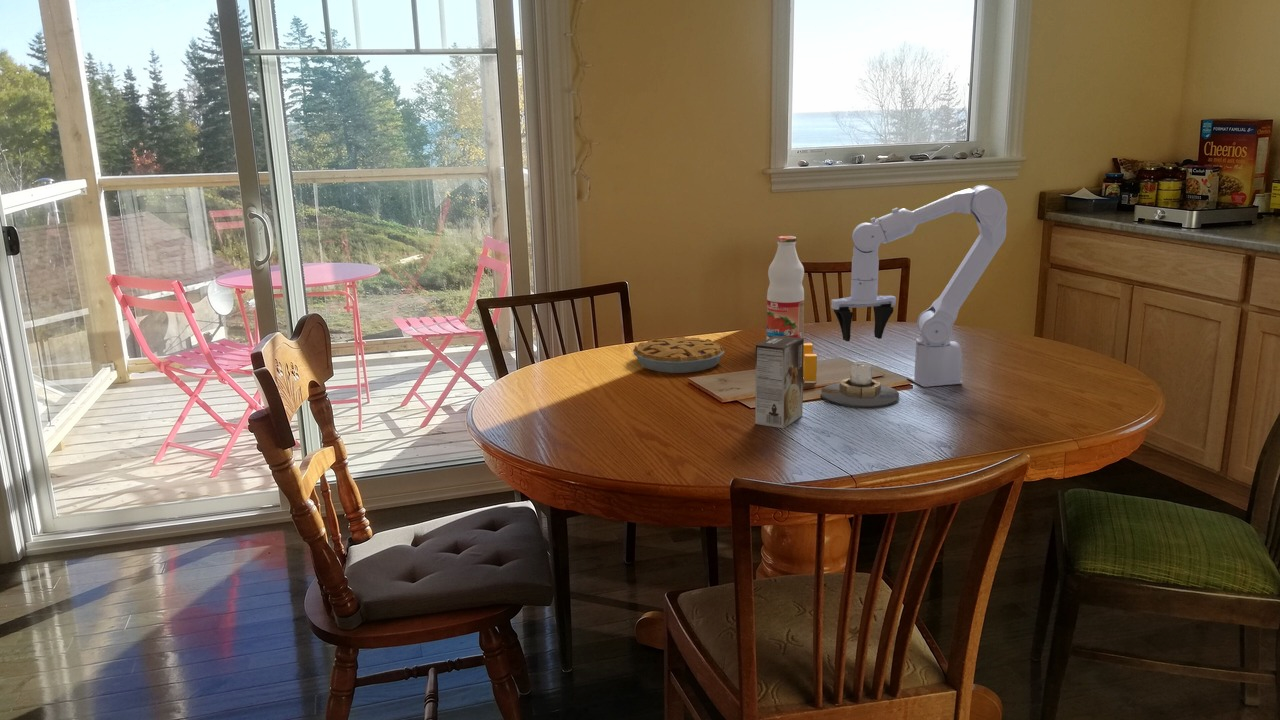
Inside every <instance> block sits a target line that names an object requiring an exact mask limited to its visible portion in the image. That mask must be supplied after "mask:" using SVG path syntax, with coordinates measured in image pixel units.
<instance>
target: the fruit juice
mask: <svg viewBox="0 0 1280 720" xmlns="http://www.w3.org/2000/svg"><path fill="white" fill-rule="evenodd" d="M797 239H798V238H797V237H796V236H793V235H781V236H777V237H776V243H777V250H776V252H775V255H774V258H773V260H772V262H771V263H770V265H769V267H768V271H767V276H768V280H769V284H768V285H769V286H768V288H767V293H766V340H767V339H769V338H771V337H773V336H785V337H794V338H804V322H805V320H804V318H805V317H804V316H805V313H804V312H805V289H804V285H803V280H804V276H805V268H804V267H805V266H804V265H803V263H802V262H801V261H800V258H799V256H798V253H797V249H796V244H797V242H798V241H797Z"/></svg>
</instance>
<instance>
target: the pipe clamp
mask: <svg viewBox="0 0 1280 720" xmlns="http://www.w3.org/2000/svg"><path fill="white" fill-rule="evenodd" d="M813 348H814V345H813V343H811V342H807V343H806V342H804V349H803V377H804V380H803V382H804V381H816V382H817V373H818V372H817V370H818V369H817V368H818V355H817V354H816V353H814V350H813Z"/></svg>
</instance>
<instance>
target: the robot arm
mask: <svg viewBox="0 0 1280 720" xmlns="http://www.w3.org/2000/svg"><path fill="white" fill-rule="evenodd" d="M1008 209H1009V208H1008V205H1007V201H1006V200H1005V197H1004V195H1003V193H1002V192H1001V191H999V190H998V189H996V188H993V187H991V186H989V185H987V184H979V185H975V186H973V187H972V188H969V187H968V188H966V189H962V190H959V191H956V192H953V193H950V194H948V195H946V196H943V197H941V198H939V199H937V200H935V201H932V202H930V203H928V204H925V205H923V206H921V207H918V208H916V209H914V210H909V209H908V208H900V209H899V207H895V208H892V209H891V212H890V213H888V214H884V215H883V216H880V217H878V218H876V217H875V216H874V217H872V218H870V222H862V223H859V224H858V225H857V226H856V227H854V229H853V231H852V234H851V238H852V239H851V240H852V242H853V249H852V255H853V256H852V257H851V274H850V275H851V277H850V278H851V280H850V281H851V283H850V296H848V297H842V298H836V299H835V298H833V299H831V302H830V303H831V304H830V306H831V307H830V308H831V309H832V310H833V312H834V314H835V316H836V318H837V320H838V323H839V326H840V330H841V335H842V340H843V341H846V342H850V340H851V332H852V331H851V326H852V320H853V316H854V313H853V312H852V311H851V309H854V308H857V309H858V308H868V307H872V308H873V313H874V315H873V316H874V337H875V338H876V339H878V340H882V338H883V335H884V331H885V329H886V325H887V324H888V321H889V320H890V318H891V316H892V314H893V313H894V306H896V305H897V303H896V302H897V297H896V296H894V295H878V292H879V291H878V290H879V289H878V288H879V267H880V266H879V265H880V264H879V263H880V258H879V247H880V246H881V244H885V245H886V244H888V243H891V242H893V241H897V240H898V239H902V238H903V237H906V236H909V235H911V234H914V232H915V230H916V228H917V226H918V225H921V224H924V223H926V222H930V221H933V220H935V219H938V218H941V217H944V216H947V215H950V214H952V213H958V214H965V215H971V214H972V216H973V217H974V219H975V222H976V225H977V228H978V232H979V234H978V236H977V237H976V239H975V240H974V243H973V244H972V245H971V247H970V249H969V250H968V252H967V253H966V255H965V256H964V258H963V259H962V261H961V263H960V264H959V266H958V267H957V269H956V270H955V272H954V273H953V275H952V277H951V278H950V280H949V282H948V283H947V284H946V286H945V288H944V289H943V290H942V292H941V294H940V295H939V297H937V298H936V299H935V300H933V302H932V304H931V305H930V307H929V308H927V309H925V310H923V311H922V312H921V313H920V314H919V315H918V318H917V320H916V326H917V329H918V330H919V332H920V334H919V336H918V337H917V338H916V339H915V341H916V343H915V357H914V358H915V360H914V374H913V375H911V374H910V375H907V376H906V379H908V380H910V381H911V382H913V383H916V384H918V385H919V386H921V387H923V388H929V387H938V386H949V385H950V386H951V385H961V384H963V381H962V380H961V378H962V364H963V361H962V360H963V351H962V348H961V345H960V344H959V342H957V341H955V340H953V341H952V340H951V339H950V338H951V336H952V331H953V326H954V324H955V322H956V321H957V318H958V314H959V311H960V309H961V307H962V306H963V304H964V302H965V301H966V300H967V298H968V297H969V295H970V293H971V292H972V291H973V289H974V287H975V286H976V284H978V281H979V280H980V278H981V277H982V275H983V274H984V272H985V271H986V269H987V267H988V266H989V265H990V263H991V262H992V260H993V258H994V257H995V255H996V254H997V252H998V251H999V249H1000V247H1001V246H1002V245H1003V243H1004V242H1005V240H1006V238H1007V213H1008Z"/></svg>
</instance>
